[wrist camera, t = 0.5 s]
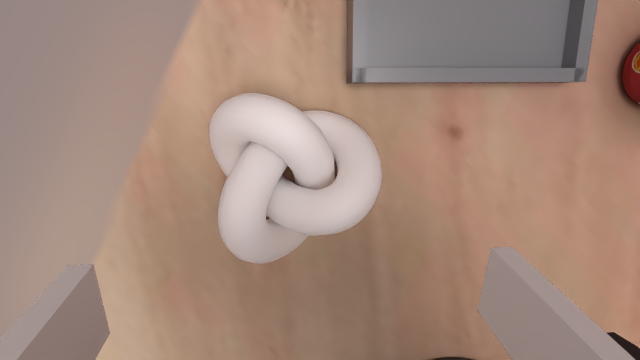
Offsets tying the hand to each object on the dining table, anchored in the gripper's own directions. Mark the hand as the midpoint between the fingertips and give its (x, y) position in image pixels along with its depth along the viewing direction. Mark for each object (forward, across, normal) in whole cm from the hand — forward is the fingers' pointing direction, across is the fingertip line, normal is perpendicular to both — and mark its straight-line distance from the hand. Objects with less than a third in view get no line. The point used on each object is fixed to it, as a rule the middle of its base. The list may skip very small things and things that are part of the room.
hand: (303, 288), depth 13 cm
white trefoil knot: (+18, 0, +2) cm, 19 cm away
